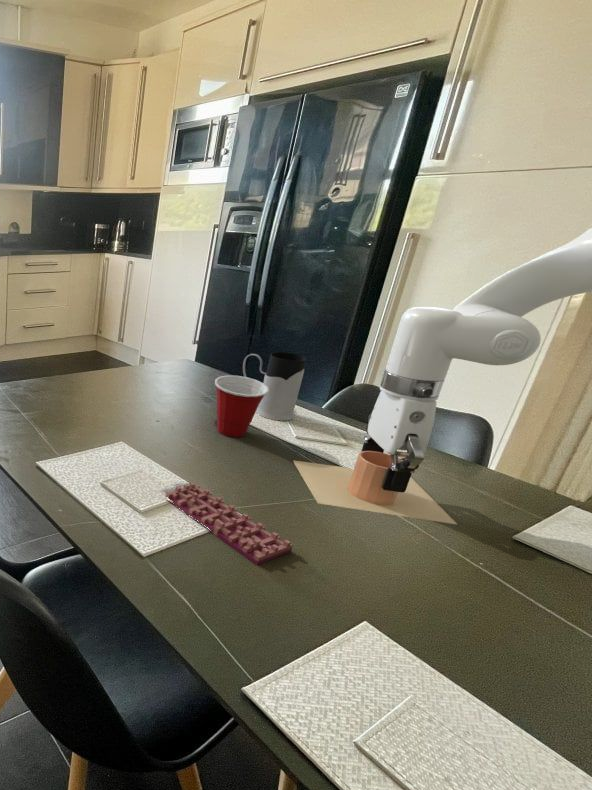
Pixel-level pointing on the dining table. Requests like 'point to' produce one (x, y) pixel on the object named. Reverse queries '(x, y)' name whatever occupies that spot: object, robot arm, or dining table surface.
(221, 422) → the plastic cup
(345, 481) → the mat
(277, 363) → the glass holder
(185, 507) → the maroon flat bar
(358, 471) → the peach cup
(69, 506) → the dining table surface
